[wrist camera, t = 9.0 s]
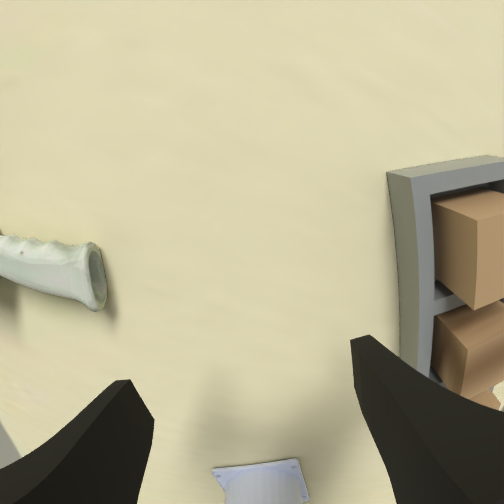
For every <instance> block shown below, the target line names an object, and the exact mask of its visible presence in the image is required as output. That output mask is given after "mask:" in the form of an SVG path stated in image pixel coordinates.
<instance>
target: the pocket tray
mask: <svg viewBox="0 0 504 504" xmlns="http://www.w3.org/2000/svg"><path fill="white" fill-rule="evenodd" d="M386 173H387V179H388V185H389V192H390V199H391V206H392V214H393V223H394V232H395V242H396V253H397V266H398V282H399V305H400V359H401V360H403V361H404V362H406V363H407V364H408V365H410V366H411V367H413V368H414V369H416V370H417V371H418V372H420V373H422V374H423V375H425V376H426V377H428V378H429V379H431V380H433V381H434V382H436V383H438V384H439V385H441V386H443V387H445V388H446V389H448V388H447V387H446V385H445V384H444V382H443V381H442V379H441V378H440V376H439V375H438V374H437V372H436V371H435V369H434V368H433V366H432V365H431V364H430V361H431V350H432V337H433V320H434V316H435V315H438V314H441V313H443V312H446V311H449V310H452V309H454V308H457V307H460V306H462V305H465V304H467V305H468V306H469V307H470V308H472V309H473V310H476V309H479V308H481V307H483V306H486V305H488V304H490V303H493V302H495V301H497V300H499V301H501V302H502V303H503V304H504V157H497V156H490V155H485V156H478V157H471V158H465V159H458V160H452V161H446V162H439V163H433V164H428V165H422V166H416V167H410V168H405V169H399V170H394V171H388V172H386ZM493 388H494V386H493V387H491V388H489V389H487V390H486V391H484V392H482V393H480V394H478V395H476V396H474V397H472V398H470V399H469V400H471V401H474V402H476V403H479V404H482V405H484V406H487V407H490V408H493V409H496V410H499V407H500V404H501V403H500V402H499V401H498V399H497V398H496V397H495V395H494V394H493V393H492V391H493Z"/></svg>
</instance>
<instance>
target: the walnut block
mask: <svg viewBox="0 0 504 504" xmlns="http://www.w3.org/2000/svg"><path fill="white" fill-rule="evenodd" d="M430 364H431V365H432V366H433V368H434V369H435V371H436V372H437V374H438V375H439V376H440V378H441V379H442V381H443V382H444V384H445V385H446V387H447V388H448V390H450V391H452V392H454V393H456V394H458V395H460V396H463V397H465V398H467V399H470V398H472V397H474V396H476V395H478V394H480V393H482V392H484V391H486V390H487V389H489V388H491V387H493V386H495V385H496V384H498V383H500V382H502V381H503V380H504V304H503V303H502V302H501V301H499V300H497V301H495V302H493V303H490V304H488V305H486V306H483V307H481V308H479V309H476V310H473V309H472V308H470V307H469V306H468V305H467V304H465V305H462V306H460V307H457V308H454V309H452V310H449V311H446V312H443V313H441V314H438V315H435V316H434V320H433V337H432V350H431V361H430Z"/></svg>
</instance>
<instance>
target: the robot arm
mask: <svg viewBox="0 0 504 504" xmlns="http://www.w3.org/2000/svg"><path fill="white" fill-rule="evenodd" d="M350 343H351V353H352V364H353V376H354V388H355V391H356V394H357V397H358V401H359V404H360V407H361V411H362V414H363V416H364V418H365V421H366V423H367V425H368V427H369V430H370V432H371V434H372V437H373V439H374V441H375V443H376V446H377V448H378V450H379V453H380V455H381V457H382V459H383V462H384V464H385V466H386V469H387V472H388V475H389V477H390V481H391V484H392V488H393V492H394V495H395V499H396V503H397V504H504V412H502V411H499V410H496V409H493V408H490V407H487V406H484V405H482V404H479V403H476V402H474V401H471V400H469V399H467V398H465V397H463V396H460V395H458V394H456V393H454V392H452V391H450V390H448V389H446V388H445V387H443V386H441V385H439V384H438V383H436V382H434V381H433V380H431V379H429V378H428V377H426V376H425V375H423V374H422V373H420V372H418V371H417V370H416V369H414V368H413V367H411V366H410V365H408V364H407V363H406V362H404V361H403V360H401V359H400V358H399V357H397V356H396V355H395V354H394V353H392V352H391V351H390V350H388V349H387V348H386V347H385V346H383V345H382V344H381V343H380V342H378V341H377V340H376V339H375V338H374V337H372V336H371V335H366V336H362V337H359V338H355V339H352V340H350ZM153 430H154V418H153V417H152V415H151V413H150V412H149V410H148V409H147V407H146V405H145V404H144V402H143V400H142V399H141V397H140V395H139V394H138V392H137V390H136V389H135V387H134V385H133V383H132V382H131V380H130V379H129V380H117V381H115V382H113V383H112V384H111V385H110V386H108V387H107V388H106V389H105V390H104V391H103V392H102V393H101V394H99V395H98V396H97V397H96V398H95V399H94V400H93V401H92V402H91V403H90V404H89V405H88V406H87V407H86V408H85V409H83V410H82V411H81V412H80V413H79V414H78V415H77V416H76V417H75V418H74V419H73V420H72V421H70V422H69V423H68V424H67V425H66V426H65V427H64V428H62V429H61V430H60V431H59V432H58V433H57V434H55V435H54V436H53V437H52V438H50V439H49V440H48V441H47V442H45V443H44V444H42V445H41V446H40V447H38V448H37V449H35V450H34V451H32V452H31V453H29V454H28V455H26V456H24V457H22V458H21V459H19V460H17V461H15V462H14V463H12V464H10V465H8V466H6V467H4V468H2V469H0V504H137V501H138V495H139V491H140V488H141V484H142V480H143V476H144V472H145V469H146V465H147V461H148V457H149V453H150V450H151V445H152V439H153ZM212 474H213V476H214V477H215V479H216V480H217V481H218V483H219V484H220V486H221V487H222V488H223V490H224V491H225V504H302V502H307V501H309V500H310V498H309V494H308V491H307V487H306V484H305V481H304V477H303V474H302V471H301V467H300V464H299V460H298V459H287V460H281V461H275V462H268V463H261V464H254V465H245V466H235V467H224V468H214V469H212Z"/></svg>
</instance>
